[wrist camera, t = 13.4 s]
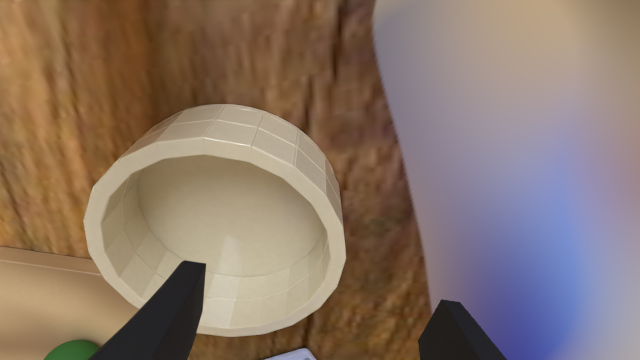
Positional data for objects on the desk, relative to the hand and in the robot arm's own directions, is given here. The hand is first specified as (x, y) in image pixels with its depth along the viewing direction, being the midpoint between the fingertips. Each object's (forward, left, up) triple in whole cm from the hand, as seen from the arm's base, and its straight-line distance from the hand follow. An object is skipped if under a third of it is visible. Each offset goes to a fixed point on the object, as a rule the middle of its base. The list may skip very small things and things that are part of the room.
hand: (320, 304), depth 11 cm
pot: (-1, +6, -10) cm, 12 cm away
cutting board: (-8, +24, -10) cm, 27 cm away
